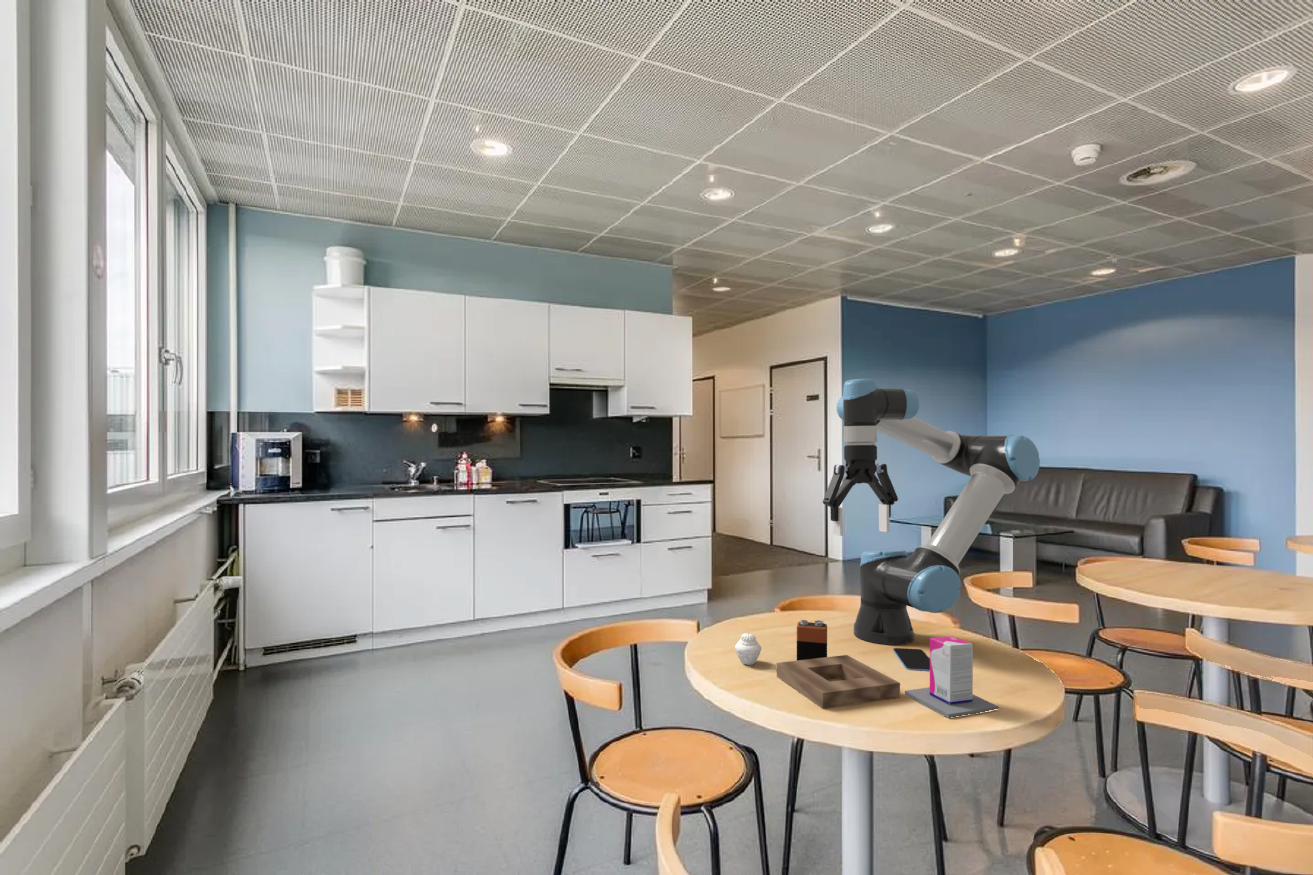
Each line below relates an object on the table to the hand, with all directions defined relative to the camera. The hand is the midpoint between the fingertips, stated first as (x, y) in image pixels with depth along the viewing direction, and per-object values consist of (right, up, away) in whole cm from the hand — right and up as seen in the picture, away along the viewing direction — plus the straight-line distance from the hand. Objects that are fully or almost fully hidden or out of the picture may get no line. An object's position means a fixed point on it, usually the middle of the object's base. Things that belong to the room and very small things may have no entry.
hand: (861, 533), depth 152 cm
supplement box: (+10, -29, -25) cm, 40 cm away
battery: (-13, -30, -3) cm, 33 cm away
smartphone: (+13, -31, 0) cm, 33 cm away
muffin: (-27, -30, -3) cm, 41 cm away
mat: (+10, -30, -25) cm, 40 cm away
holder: (-11, -30, -17) cm, 36 cm away
